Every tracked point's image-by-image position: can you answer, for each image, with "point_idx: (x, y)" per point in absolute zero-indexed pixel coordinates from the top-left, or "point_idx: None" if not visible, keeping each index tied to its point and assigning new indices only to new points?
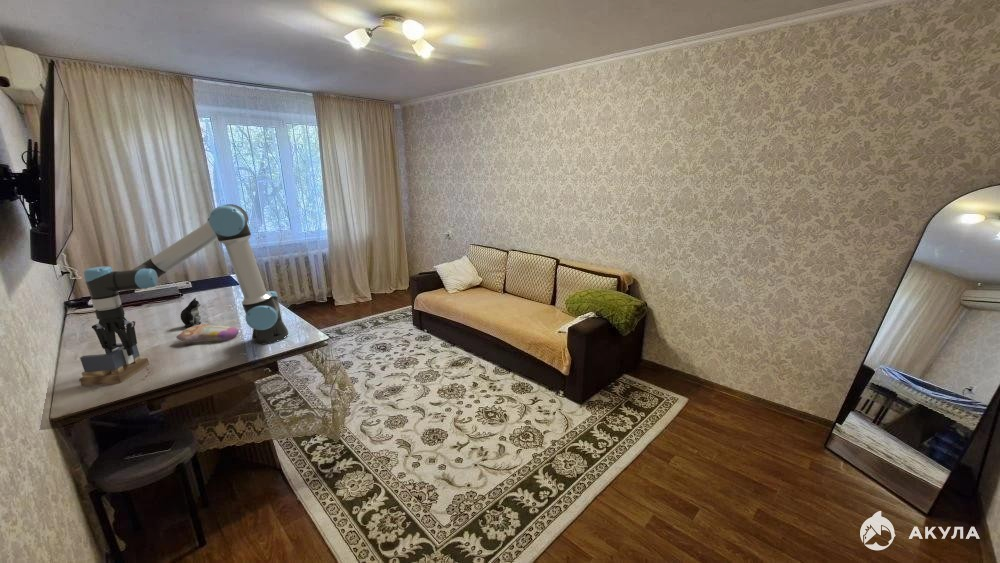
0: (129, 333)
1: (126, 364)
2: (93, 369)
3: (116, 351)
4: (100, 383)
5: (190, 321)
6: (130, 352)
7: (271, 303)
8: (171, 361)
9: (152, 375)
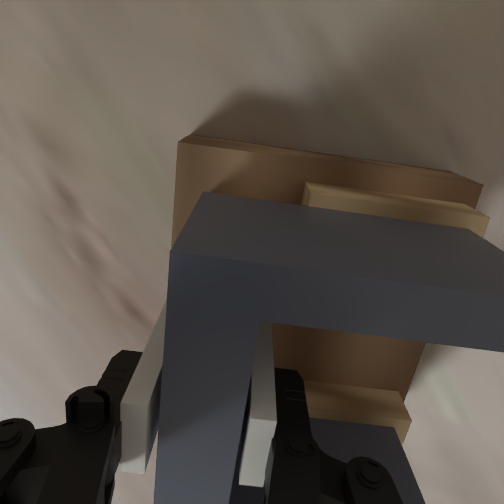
0: None
1: None
2: (398, 224)
3: (191, 370)
4: (327, 155)
5: None
6: (103, 375)
7: None
8: (54, 384)
9: (29, 197)
